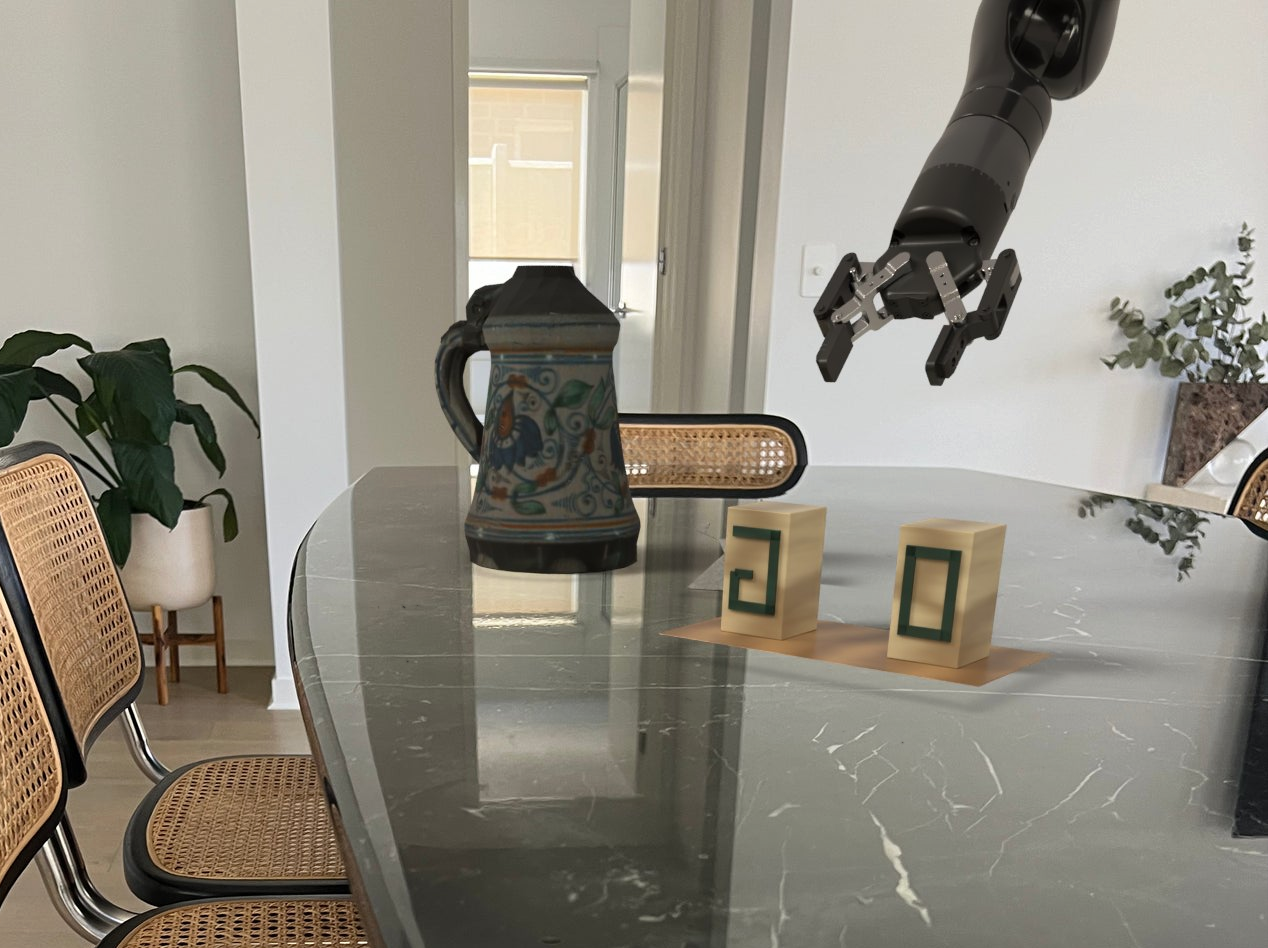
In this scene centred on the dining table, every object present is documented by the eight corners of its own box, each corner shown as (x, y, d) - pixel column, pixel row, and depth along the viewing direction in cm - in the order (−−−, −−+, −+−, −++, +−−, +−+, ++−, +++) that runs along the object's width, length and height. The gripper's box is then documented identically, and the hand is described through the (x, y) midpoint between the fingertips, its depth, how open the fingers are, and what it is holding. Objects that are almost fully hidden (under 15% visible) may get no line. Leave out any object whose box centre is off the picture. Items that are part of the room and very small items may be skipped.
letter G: (817, 629, 105) (827, 506, 101) (779, 641, 101) (789, 513, 98) (757, 620, 108) (765, 500, 104) (718, 631, 104) (725, 507, 100)
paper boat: (749, 585, 119) (655, 544, 122) (747, 640, 125) (657, 599, 128) (825, 494, 123) (732, 457, 127) (820, 551, 129) (731, 514, 132)
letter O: (989, 656, 97) (1007, 524, 94) (955, 669, 94) (973, 532, 90) (920, 645, 100) (935, 517, 97) (884, 658, 96) (898, 525, 93)
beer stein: (643, 575, 130) (653, 264, 120) (425, 572, 130) (417, 262, 120) (636, 547, 145) (645, 269, 135) (441, 545, 145) (435, 267, 135)
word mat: (1051, 666, 98) (1053, 654, 98) (977, 699, 90) (978, 686, 90) (747, 619, 112) (748, 609, 112) (657, 644, 104) (657, 632, 103)
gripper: (861, 165, 110) (775, 337, 107) (1045, 153, 102) (957, 339, 99) (888, 243, 116) (807, 409, 113) (1064, 238, 108) (982, 416, 105)
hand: (877, 376), depth 106 cm, fingers open, 8 cm apart
